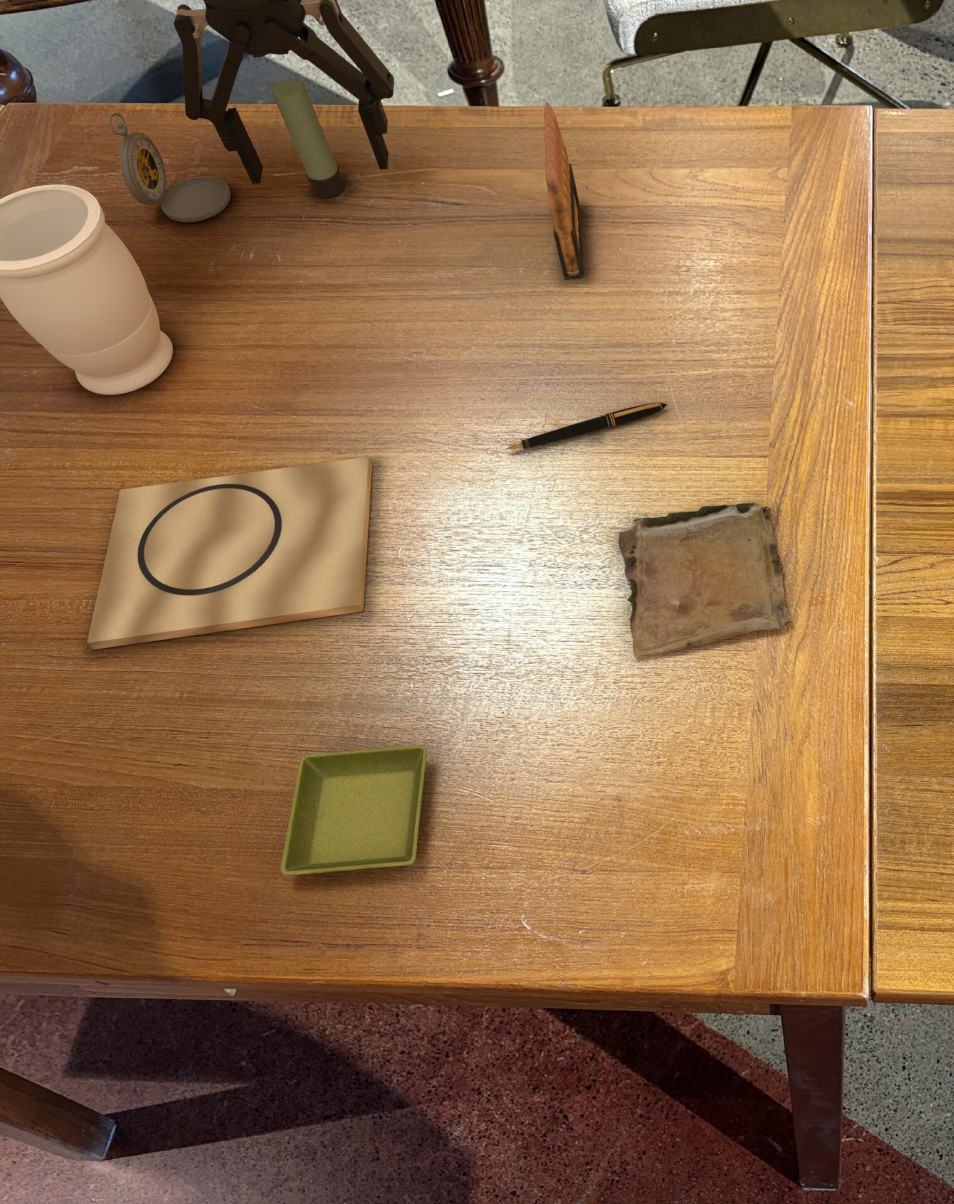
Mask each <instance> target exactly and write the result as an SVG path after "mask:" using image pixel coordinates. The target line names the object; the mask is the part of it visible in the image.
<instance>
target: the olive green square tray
mask: <svg viewBox="0 0 954 1204" xmlns="http://www.w3.org/2000/svg"><path fill="white" fill-rule="evenodd" d="M427 755H428V748H427V746H426V745H423V744H417V745H416V744H415V745H413V744H412V745H404V746H403V745H402V746H395V747H394V746H392V747H390V746H389V747H381V748H370V749H359V750H346V751H333V752H318V753H317V752H316V753H308V754H304V755H303V756H301V758H300V760H299V762H298V766H297V773H296V778H295V785H294V792H293V797H292V803H291V808H290V812H289V819H288V824H287V830H286V835H285V839H284V844H283V851H282V857H281V863H280V868H279V869H280V873H281V874H282V875H283V876H297V875H298V876H299V875H311V874H321V873H334V872H345V871H356V870H367V869H369V870H370V869H379V868H392V867H393V868H394V867H403V866H411V865H413V864H414V863H415V861H416V858H417V851H418V849H417V848H418V839H419V830H420V821H421V819H420V818H421V810H422V801H423V793H424V782H425V774H426V766H427V765H426V764H427Z"/></svg>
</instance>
